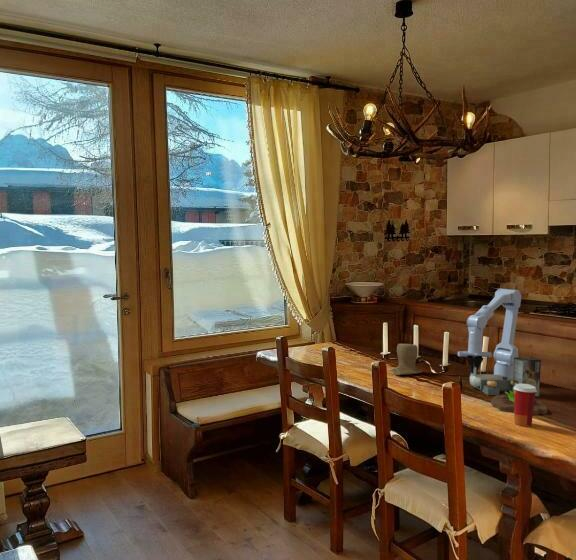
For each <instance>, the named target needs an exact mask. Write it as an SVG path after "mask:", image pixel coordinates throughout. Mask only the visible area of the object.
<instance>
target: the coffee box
mask: <svg viewBox="0 0 576 560" xmlns="http://www.w3.org/2000/svg"><path fill="white" fill-rule="evenodd" d="M541 363H542V359H541V358H540V359H539V358H536V357H533V356H523V357H522V356H521V357H519V356H518V357H514V368H513V380H516V381H518V383H519V384H529V385H532V386H534V387H536V390H537V392H536V394H535V397H540V388H541V387H540V386H541V384H540V383H541V367H542V364H541ZM516 384H517V382H515V383H514V384H513V390H512V392H514V386H515V385H516Z"/></svg>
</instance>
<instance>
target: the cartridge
mask: <svg viewBox="0 0 576 560" xmlns="http://www.w3.org/2000/svg"><path fill="white" fill-rule="evenodd" d="M480 379H482V380H503V378H502V376H501V375H494V374H487V373H486V374H484V373H483V374H481V373H480V374H479V373H476V367H475V366H474V369H473V373H471V372H470V375H469V384H470V386H471V387H474V386H480Z"/></svg>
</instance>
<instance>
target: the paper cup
mask: <svg viewBox="0 0 576 560" xmlns="http://www.w3.org/2000/svg"><path fill="white" fill-rule="evenodd" d="M536 392H537V390H536V387H534V386H532V385H529V384H516V385H515V386H514V413H513V415H514V417H513V419H514V420H513V421H514V424H515V425H516V426H518V425H519V427H523V426H524V427H526V428H527V427H529V426H530V427H532V423H533V416H534V415H533V409H534V402H535V400H536V396H535V394H536Z"/></svg>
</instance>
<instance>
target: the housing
mask: <svg viewBox="0 0 576 560" xmlns="http://www.w3.org/2000/svg"><path fill="white" fill-rule="evenodd" d="M502 378H503V380H482V379H480V386H473V387H474V388H475V387H476V388H475V389H477V391H479V390H480V391H479V392H482V393H483V392H484V393H483V394H485V395H486V394H487V395H486V396H488V395H491V397H493V396H492V395H495V396H499V395H500V393H505V392H508V393H510V391H512V390H513V385H512V384H511V381H512V380H513V378H511V377H509V376H502ZM487 381H496V382H497V386H496V387H494V388H489V386H488V385H487ZM500 391H501V392H500ZM495 396H494V397H495Z"/></svg>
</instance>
